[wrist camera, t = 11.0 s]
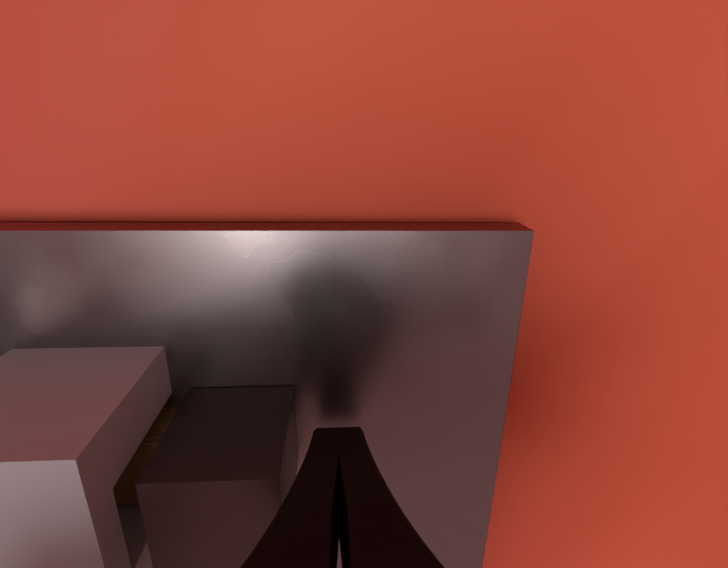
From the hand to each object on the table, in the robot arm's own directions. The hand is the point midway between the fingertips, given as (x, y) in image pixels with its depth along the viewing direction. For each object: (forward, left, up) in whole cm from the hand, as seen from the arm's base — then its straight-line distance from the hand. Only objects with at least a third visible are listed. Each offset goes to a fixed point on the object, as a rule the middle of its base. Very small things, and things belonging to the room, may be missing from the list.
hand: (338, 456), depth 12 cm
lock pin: (0, +7, -1) cm, 7 cm away
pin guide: (0, +7, -1) cm, 7 cm away
